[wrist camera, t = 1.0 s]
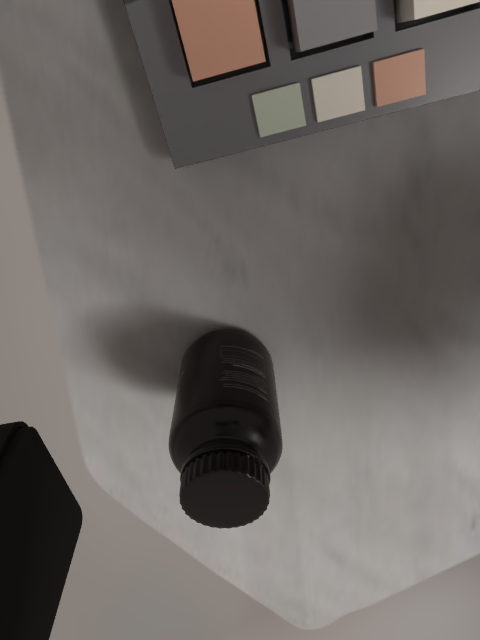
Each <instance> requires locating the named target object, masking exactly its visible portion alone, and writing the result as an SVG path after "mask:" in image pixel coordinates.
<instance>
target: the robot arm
mask: <svg viewBox="0 0 480 640" xmlns="http://www.w3.org/2000/svg"><path fill="white" fill-rule="evenodd" d="M81 525H82V511H81V508H80V506H79V504H78V502H77V501H76V499H75V497H74V495H73V494H72V492H71V490H70V489H69V486H68V485H67V483H66V481H65V479H64V478H63V476H62V474H61V472H60V471H59V469H58V467H57V466H56V464H55V462H54V460H53V458H52V457H51V455H50V453H49V451H48V450H47V448H46V446H45V444H44V443H43V441H42V439H41V437H40V436H39V434H38V432H37V430H36V429H35V428H33V427H28V425H27V424H26V423H24V422H13V423H8V424H2V425H0V640H49V637H50V633H51V630H52V626H53V623H54V619H55V616H56V613H57V609H58V605H59V602H60V599H61V595H62V592H63V588H64V585H65V581H66V578H67V574H68V571H69V567H70V564H71V560H72V557H73V553H74V550H75V547H76V543H77V540H78V536H79V533H80V529H81Z"/></svg>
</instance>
